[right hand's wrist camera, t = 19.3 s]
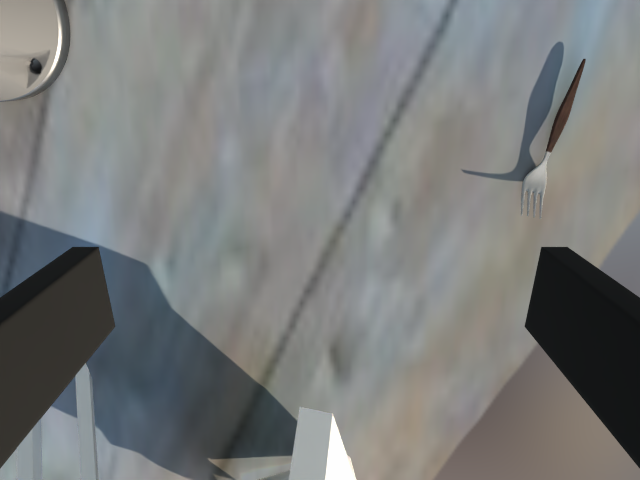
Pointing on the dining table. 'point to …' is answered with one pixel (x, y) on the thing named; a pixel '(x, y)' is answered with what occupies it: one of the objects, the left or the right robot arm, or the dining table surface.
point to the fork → (549, 148)
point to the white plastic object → (304, 476)
